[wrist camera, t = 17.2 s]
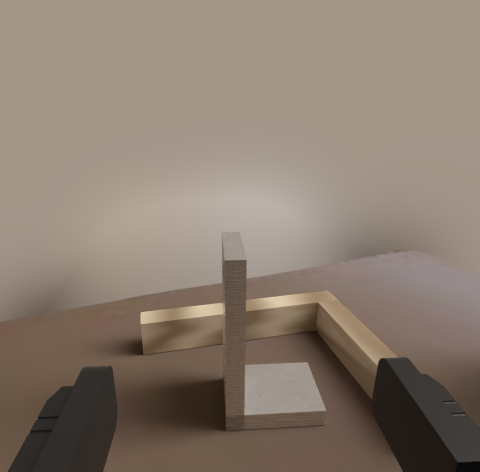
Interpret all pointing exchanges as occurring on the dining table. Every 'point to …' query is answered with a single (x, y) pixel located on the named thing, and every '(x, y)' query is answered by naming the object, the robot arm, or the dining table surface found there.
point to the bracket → (259, 376)
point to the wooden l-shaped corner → (272, 329)
